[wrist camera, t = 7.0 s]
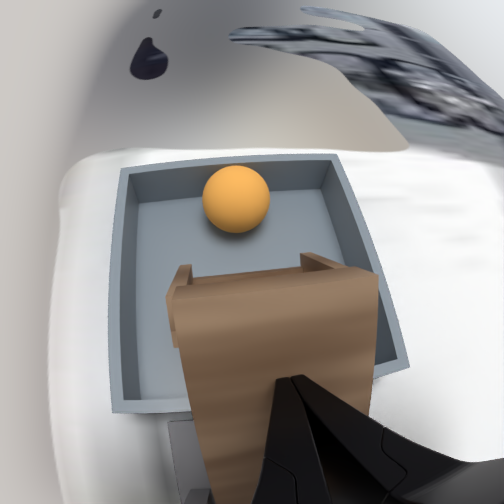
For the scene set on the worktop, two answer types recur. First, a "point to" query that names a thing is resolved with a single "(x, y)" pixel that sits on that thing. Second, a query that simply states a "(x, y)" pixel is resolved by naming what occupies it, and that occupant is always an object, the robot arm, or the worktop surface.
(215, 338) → the brown wooden angled piece
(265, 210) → the ball
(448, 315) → the worktop surface
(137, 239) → the bin
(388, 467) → the robot arm
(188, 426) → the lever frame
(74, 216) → the worktop surface
